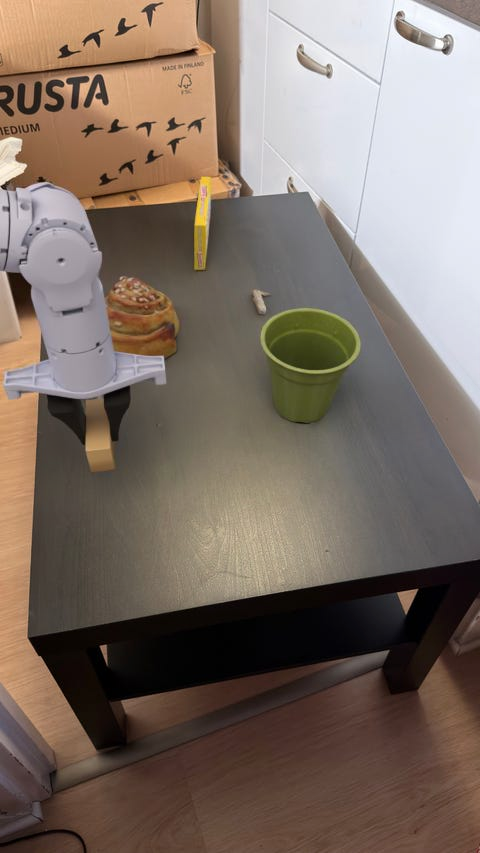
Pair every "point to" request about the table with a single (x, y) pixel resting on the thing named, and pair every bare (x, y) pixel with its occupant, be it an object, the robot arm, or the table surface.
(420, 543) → the table surface
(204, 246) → the candy box
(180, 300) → the table surface
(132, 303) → the pastry
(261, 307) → the ginger root
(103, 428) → the cake knife
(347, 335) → the plant pot
